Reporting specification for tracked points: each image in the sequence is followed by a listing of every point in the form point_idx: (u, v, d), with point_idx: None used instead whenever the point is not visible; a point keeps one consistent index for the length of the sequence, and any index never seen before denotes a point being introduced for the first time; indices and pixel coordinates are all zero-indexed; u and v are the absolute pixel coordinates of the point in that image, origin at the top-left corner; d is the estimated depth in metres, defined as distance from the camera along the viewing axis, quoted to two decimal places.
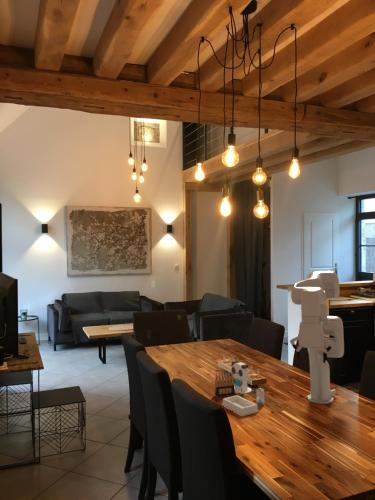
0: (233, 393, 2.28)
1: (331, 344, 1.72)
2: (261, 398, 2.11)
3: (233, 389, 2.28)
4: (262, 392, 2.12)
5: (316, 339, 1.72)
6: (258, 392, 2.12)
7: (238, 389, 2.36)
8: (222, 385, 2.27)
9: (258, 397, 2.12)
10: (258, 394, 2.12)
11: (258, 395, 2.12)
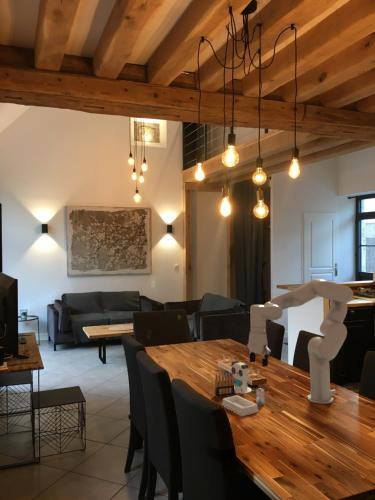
0: (233, 393, 2.28)
1: None
2: (261, 398, 2.11)
3: (233, 389, 2.28)
4: (262, 392, 2.12)
5: None
6: (258, 392, 2.12)
7: (238, 389, 2.36)
8: (222, 385, 2.27)
9: (258, 397, 2.12)
10: (258, 394, 2.12)
11: (258, 395, 2.12)
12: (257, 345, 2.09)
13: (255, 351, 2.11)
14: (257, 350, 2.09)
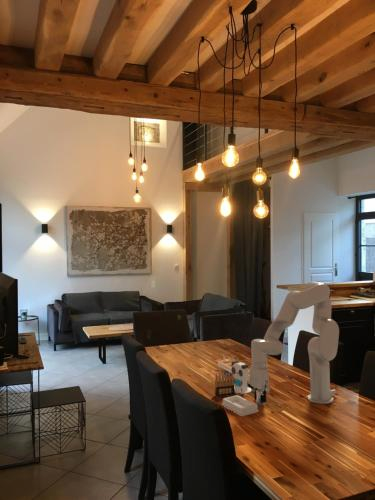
0: (233, 393, 2.28)
1: None
2: None
3: (233, 389, 2.28)
4: None
5: None
6: (258, 392, 2.12)
7: (238, 389, 2.36)
8: (222, 385, 2.27)
9: (258, 397, 2.12)
10: (258, 394, 2.12)
11: (258, 395, 2.12)
12: (258, 380, 2.10)
13: (256, 386, 2.11)
14: (258, 385, 2.10)
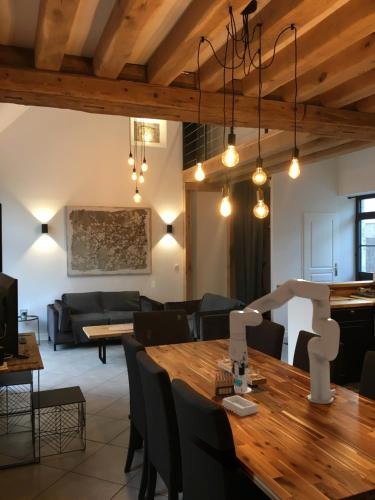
0: (233, 393, 2.28)
1: None
2: None
3: (233, 389, 2.28)
4: None
5: None
6: (236, 364, 2.07)
7: (238, 389, 2.36)
8: (222, 385, 2.27)
9: (236, 369, 2.07)
10: (236, 366, 2.06)
11: (236, 367, 2.07)
12: (236, 352, 2.04)
13: (235, 358, 2.06)
14: (237, 357, 2.04)
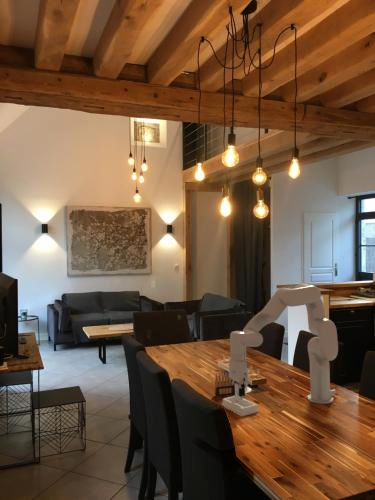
0: (233, 393, 2.28)
1: None
2: None
3: None
4: None
5: None
6: (236, 385, 2.07)
7: None
8: (222, 385, 2.27)
9: (236, 390, 2.07)
10: (237, 387, 2.06)
11: (236, 388, 2.07)
12: (237, 373, 2.04)
13: (235, 379, 2.06)
14: (237, 378, 2.04)
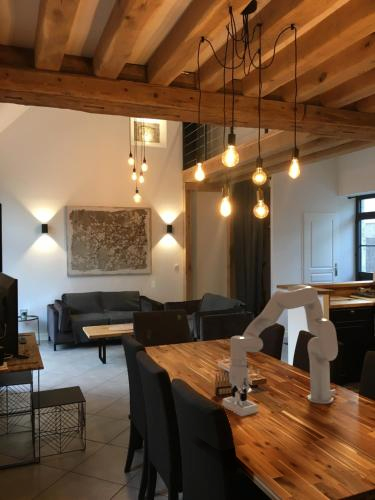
0: None
1: None
2: (240, 400, 2.06)
3: None
4: None
5: None
6: (237, 394, 2.07)
7: (238, 389, 2.36)
8: (222, 385, 2.27)
9: (237, 399, 2.07)
10: (237, 396, 2.07)
11: (237, 397, 2.07)
12: (237, 378, 2.04)
13: (235, 384, 2.06)
14: (237, 383, 2.04)
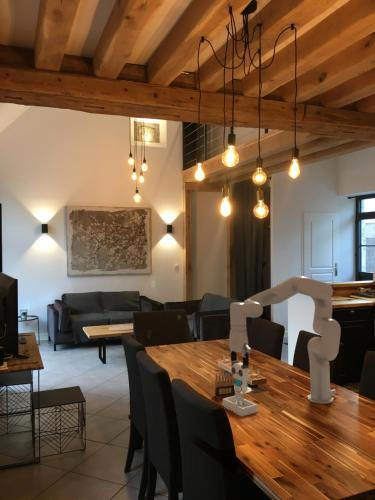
0: (233, 393, 2.28)
1: None
2: (240, 400, 2.06)
3: (233, 389, 2.28)
4: (241, 394, 2.07)
5: None
6: (237, 394, 2.07)
7: (238, 389, 2.36)
8: (222, 385, 2.27)
9: (237, 399, 2.07)
10: (237, 396, 2.07)
11: (237, 397, 2.07)
12: (237, 344, 2.04)
13: (235, 350, 2.06)
14: (237, 349, 2.04)
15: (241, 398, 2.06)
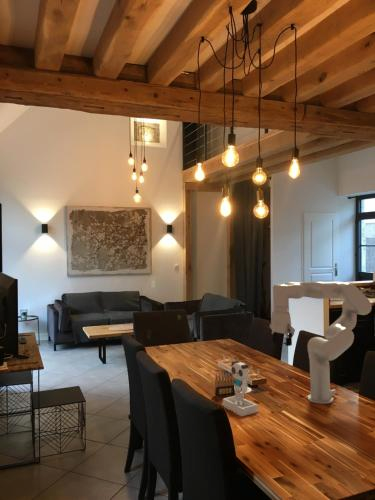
0: (233, 393, 2.28)
1: None
2: (240, 400, 2.06)
3: (233, 389, 2.28)
4: (241, 394, 2.07)
5: None
6: (237, 394, 2.07)
7: (238, 389, 2.36)
8: (222, 385, 2.27)
9: (237, 399, 2.07)
10: (237, 396, 2.07)
11: (237, 397, 2.07)
12: (281, 324, 2.08)
13: (278, 331, 2.09)
14: (281, 329, 2.08)
15: (241, 398, 2.06)
